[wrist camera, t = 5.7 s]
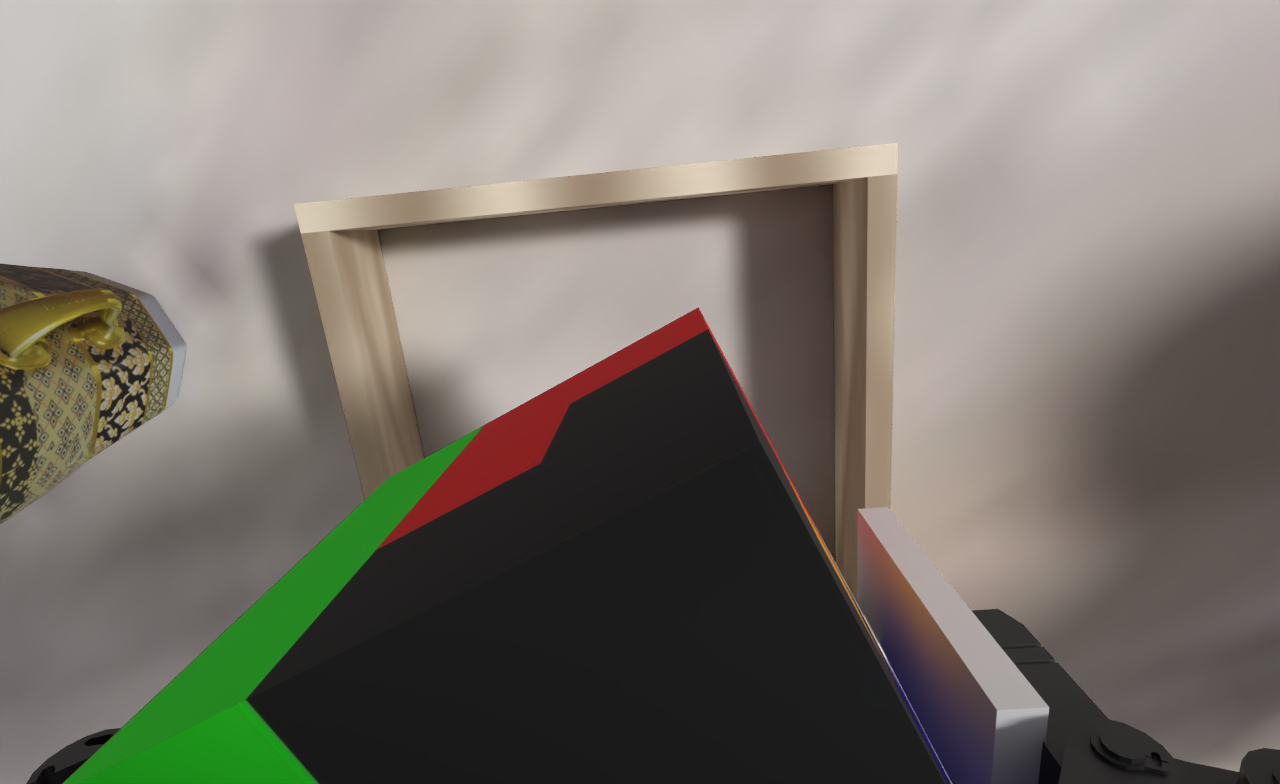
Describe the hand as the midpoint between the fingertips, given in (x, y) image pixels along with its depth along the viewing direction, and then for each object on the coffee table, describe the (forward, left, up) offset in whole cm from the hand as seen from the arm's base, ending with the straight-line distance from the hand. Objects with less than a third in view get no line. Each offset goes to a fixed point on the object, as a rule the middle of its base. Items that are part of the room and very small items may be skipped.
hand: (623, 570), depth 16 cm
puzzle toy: (0, 0, -2) cm, 2 cm away
